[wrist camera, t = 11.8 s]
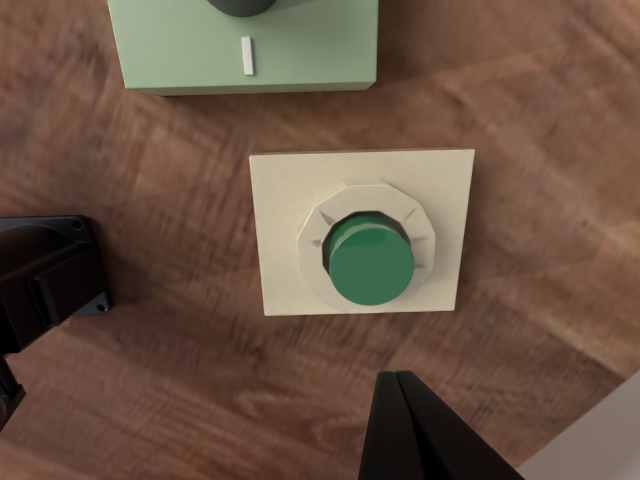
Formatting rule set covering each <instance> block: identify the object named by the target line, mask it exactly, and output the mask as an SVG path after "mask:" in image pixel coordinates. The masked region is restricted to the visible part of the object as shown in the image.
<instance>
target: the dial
mask: <svg viewBox="0 0 640 480" xmlns="http://www.w3.org/2000/svg"><path fill="white" fill-rule="evenodd" d="M207 1H208V2H209V3H210V4H211V5H212V6H214V7H215V8H216V9H218V10H220V11H221V12H223V13H226V14H228V15H231V16H236V17H250V16H254V15H257V14H260V13H262V12H264V11H265V10H267V9H268V8H270V7H271V6H272V5H273V4H274V3H275V2H276V1H277V0H207Z"/></svg>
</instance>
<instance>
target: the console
mask: <svg viewBox="0 0 640 480" xmlns="http://www.w3.org/2000/svg"><path fill="white" fill-rule="evenodd" d="M107 1H108V6H109V11H110V16H111V20H112V25H113V30H114V35H115V40H116V44H117V49H118V54H119V59H120V64H121V68H122V73H123V78H124V83H125V87H126V89H130V90H134V91H139V92H143V93H148V94H152V95H157V96H174V95H210V94H246V93H281V92H317V91H352V90H366V89H368V88H369V87H370V86H371V85H372V84H373V83H375V82H376V72H377V38H378V3H379V0H277V1H276V2H275V3H274V4H273V5H272V6H271V7H270V8H268V9H267V10H265V11H264V12H262V13H260V14H257V15H254V16H250V17H236V16H231V15H228V14H226V13H223V12H221V11H220V10H218V9H216V8H215V7H214V6H212V5H211V4H210V3H209V2H208V1H207V0H107Z"/></svg>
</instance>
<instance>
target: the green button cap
mask: <svg viewBox="0 0 640 480" xmlns="http://www.w3.org/2000/svg"><path fill="white" fill-rule="evenodd" d="M328 260H329V271H330V277H331V281H332V283H333V285H334V287H335V289H336V290H337V291H338V292H339V293H340V294H341V295H342V296H343V297H344V298H346V299H347V300H349V301H351V302H353V303H356V304H360V305H366V306H373V305H380V304H384V303H387V302H389V301H391V300H393V299H395V298H396V297H397V296H399V295H400V294H401V293H402V292H403V291H404V290H405V289H406V288H407V286H408V285H409V283H410V281H411V279H412V276H413V273H414V267H415V262H414V256H413V252H412V250H411V248H410V246H409V245H408V243H407V242H406V241H405V239H404V238H403V237H402V236H401V234H400V233H399V232H398V231H397V229H396V228H395V227H394V226H393V225H392V224H391V223H390V222H388V221H386V220H385V219H383V218H380V217H377V216H371V215H364V216H358V217H354V218H351V219H349V220H347V221H346V222H344V223H343V224H341V225H340V226H339V227H338V228H337V229H336V231H335V232H334V233H333V235H332V237H331V239H330V242H329V246H328Z"/></svg>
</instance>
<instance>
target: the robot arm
mask: <svg viewBox="0 0 640 480" xmlns="http://www.w3.org/2000/svg"><path fill="white" fill-rule="evenodd" d="M77 221H78V222H80V224H81V227H80V226H79V225H78V224H77ZM102 305H103V306H104V307H105V308H104V307H102ZM112 308H113V303H112V300H111V296H110V293H109V289H108V284H107V281H106V277H105V274H104V270H103V266H102V263H101V259H100V255H99V252H98V249H97V246H96V242H95V239H94V235H93V231H92V228H91V224H90V222H89V220H88V219H87V218H86V217H85V216H82V215H62V216H27V217H0V432H1V430H2V429H3V427H4V426H5V425H6V423H7V422H8V420H9V419H10V417H11V416H12V414H13V413H14V411H15V410H16V408H17V407H18V405H19V404H20V402H21V401H22V400H23V398H24V397H25V395H26V392H25V390H24V388H23V386H22V385H21V384H18V383H17V381H16V379H15V377H14V375H13V373H12V371H11V369H10V367H9V366H8V364H7V362H6V360H5V358H6V357H8V356H9V355H11V354H12V353H19V352H21V351H22V350H24V349H25V348H26V347H28V346H29V345H30V344H32V343H33V342H34V341H36V340H37V339H38V338H40V337H41V336H42V335H44V334H45V333H46V332H48V331H49V330H51V329H52V328H53V327H55V326H59V325H60V324H62V323H63V322H64V321H66V320H67V319H68V318H70V317H71V316H72V315H104V314H107V313H108V312H109V311H110V310H111V309H112ZM358 480H525V479H524V478H523V477H522V476H521V475H520V474H519V473H518V472H517V471H516V470H515V469H514V468H512V467H511V466H510V465H509V464H508V463H507V462H506V461H505V460H504V459H503V458H502V457H501V456H500V455H499V454H498V453H497V452H496V451H495V450H494V449H493V448H492V447H490V446H489V445H488V444H487V443H486V442H485V441H484V440H483V439H482V438H481V437H480V436H479V435H478V434H477V433H476V432H475V431H474V430H473V429H472V428H471V427H470V426H468V425H467V424H466V423H465V422H464V421H463V420H462V419H461V418H460V417H459V416H458V415H457V414H456V413H455V412H454V411H453V410H452V409H451V408H450V407H449V406H448V405H446V404H445V403H444V402H443V401H442V400H441V399H440V398H439V397H438V396H437V395H436V394H435V393H434V392H433V391H432V390H431V389H430V388H429V387H428V386H427V385H426V384H424V383H423V382H422V381H421V380H420V379H419V378H418V377H417V376H416V375H415V374H414V373H413V372H411V371H396V372H395V373H394V372H393V371H380V372H378V374H377V378H376V384H375V389H374V395H373V400H372V405H371V411H370V416H369V422H368V427H367V432H366V438H365V443H364V448H363V454H362V459H361V465H360V470H359V475H358Z"/></svg>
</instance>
